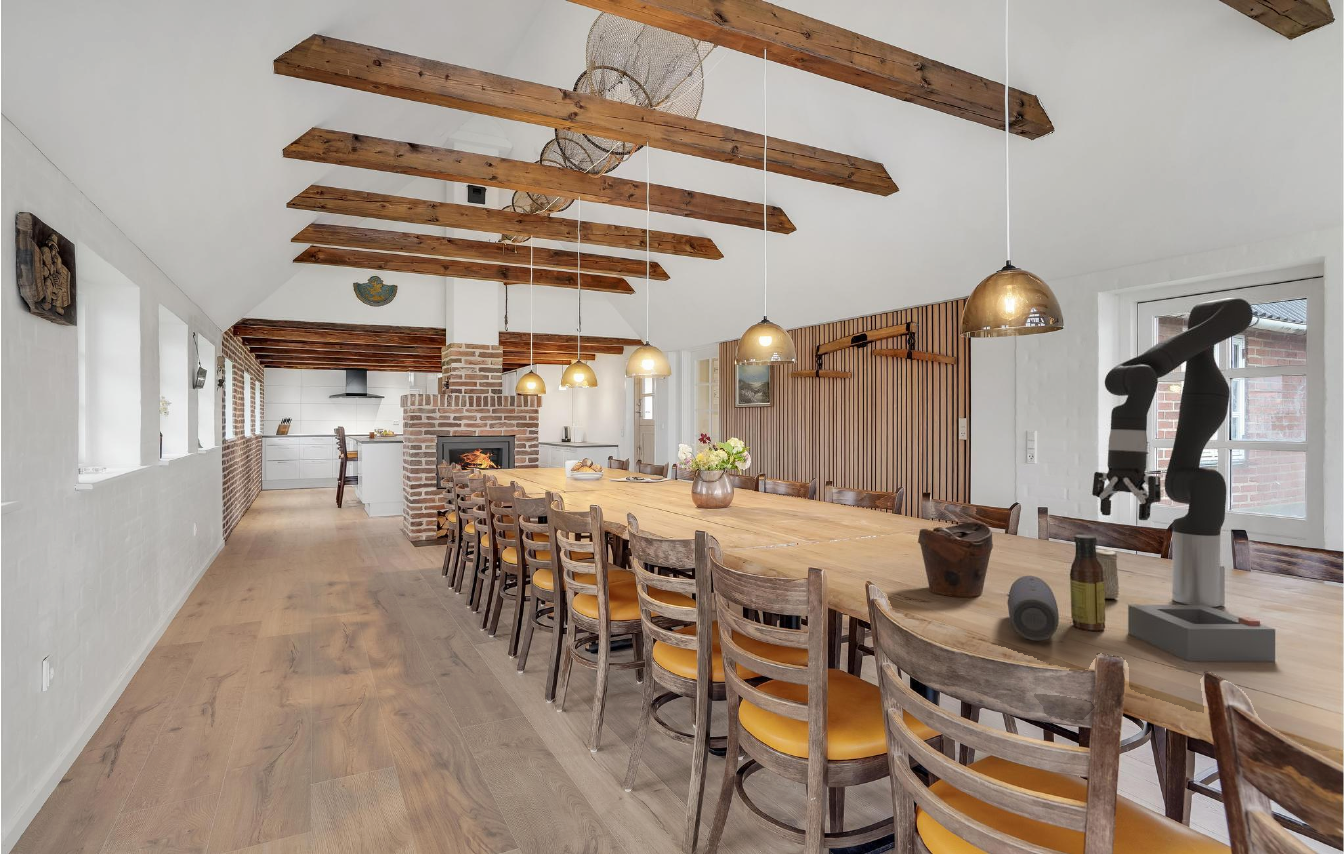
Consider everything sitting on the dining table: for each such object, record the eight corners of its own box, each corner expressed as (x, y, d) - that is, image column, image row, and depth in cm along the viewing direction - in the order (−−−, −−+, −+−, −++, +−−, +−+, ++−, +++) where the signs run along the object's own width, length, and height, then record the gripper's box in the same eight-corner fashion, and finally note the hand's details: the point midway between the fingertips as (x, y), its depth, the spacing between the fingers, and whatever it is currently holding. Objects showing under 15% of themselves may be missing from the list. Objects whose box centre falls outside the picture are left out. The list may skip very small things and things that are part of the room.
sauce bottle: (1095, 623, 143) (1095, 533, 143) (1111, 632, 137) (1112, 538, 137) (1064, 622, 143) (1064, 533, 143) (1079, 631, 137) (1079, 538, 137)
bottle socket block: (1205, 633, 136) (1205, 601, 136) (1275, 661, 120) (1275, 624, 120) (1128, 633, 136) (1128, 601, 136) (1187, 661, 120) (1187, 624, 120)
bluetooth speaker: (1007, 613, 150) (1007, 570, 150) (1054, 619, 146) (1054, 575, 146) (1007, 643, 130) (1007, 593, 130) (1061, 650, 126) (1061, 599, 126)
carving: (1110, 594, 167) (1110, 548, 167) (1125, 602, 160) (1125, 554, 160) (1083, 593, 168) (1083, 547, 168) (1096, 601, 161) (1096, 553, 161)
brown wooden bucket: (908, 594, 167) (909, 524, 167) (927, 579, 184) (928, 516, 183) (984, 606, 157) (985, 532, 157) (997, 589, 173) (998, 522, 173)
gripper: (1170, 451, 149) (1166, 522, 149) (1107, 448, 162) (1104, 513, 162) (1149, 450, 146) (1145, 521, 146) (1087, 447, 159) (1084, 513, 159)
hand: (1124, 517), depth 154 cm, fingers open, 8 cm apart
